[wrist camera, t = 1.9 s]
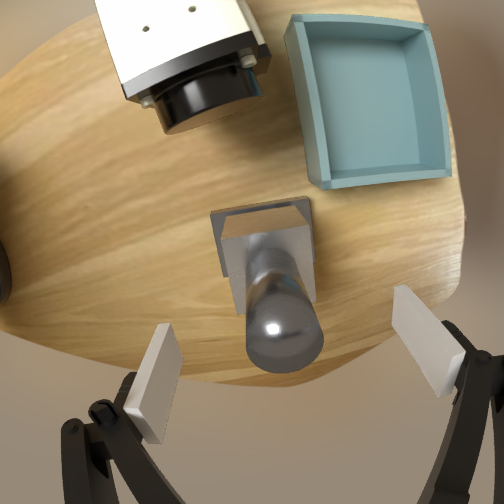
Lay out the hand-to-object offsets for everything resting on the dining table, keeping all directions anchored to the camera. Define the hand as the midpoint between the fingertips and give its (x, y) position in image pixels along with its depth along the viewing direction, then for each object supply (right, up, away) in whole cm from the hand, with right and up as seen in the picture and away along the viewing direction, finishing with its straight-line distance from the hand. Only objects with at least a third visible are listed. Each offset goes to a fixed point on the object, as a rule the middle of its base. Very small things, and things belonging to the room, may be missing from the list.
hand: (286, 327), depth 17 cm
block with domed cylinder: (-1, +5, +13) cm, 14 cm away
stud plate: (-1, +6, +16) cm, 17 cm away
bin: (+10, +20, +11) cm, 25 cm away
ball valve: (-7, +25, +9) cm, 27 cm away
